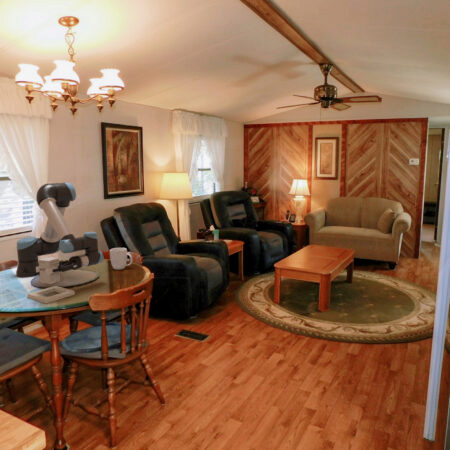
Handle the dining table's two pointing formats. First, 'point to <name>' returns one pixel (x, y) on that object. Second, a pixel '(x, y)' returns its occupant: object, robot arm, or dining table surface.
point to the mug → (119, 258)
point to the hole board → (39, 294)
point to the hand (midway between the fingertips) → (41, 270)
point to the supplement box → (47, 264)
